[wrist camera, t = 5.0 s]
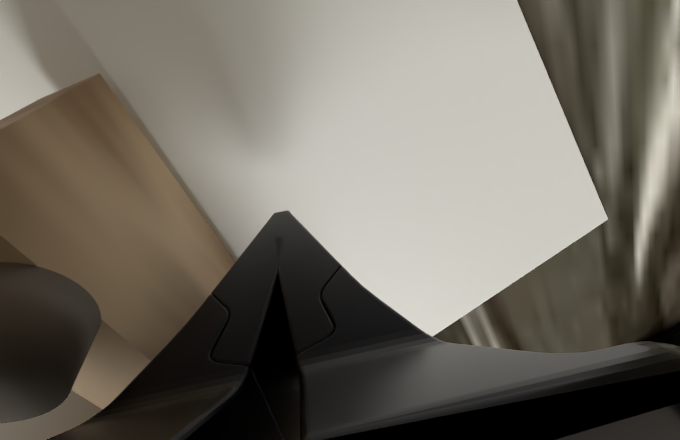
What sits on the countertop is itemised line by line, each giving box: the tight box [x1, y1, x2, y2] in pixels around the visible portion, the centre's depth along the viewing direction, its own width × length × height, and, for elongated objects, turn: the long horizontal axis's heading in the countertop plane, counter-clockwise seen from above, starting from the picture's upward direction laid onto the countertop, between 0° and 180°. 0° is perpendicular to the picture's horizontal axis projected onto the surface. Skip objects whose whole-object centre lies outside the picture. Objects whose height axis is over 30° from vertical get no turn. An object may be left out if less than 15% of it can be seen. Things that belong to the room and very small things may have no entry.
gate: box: [0, 73, 235, 423], centre depth 9 cm, size 14×2×6 cm, turn 19°
